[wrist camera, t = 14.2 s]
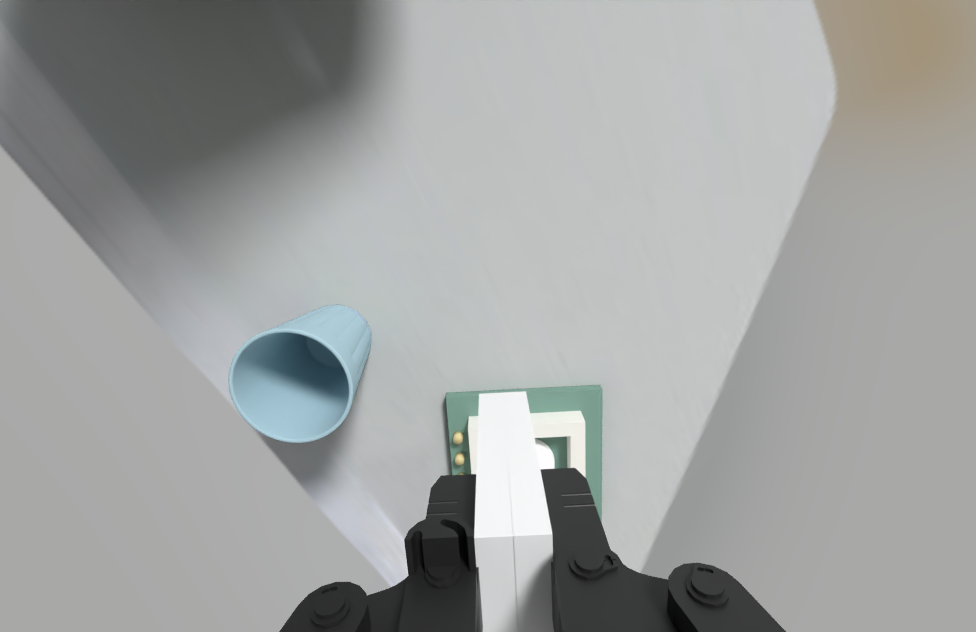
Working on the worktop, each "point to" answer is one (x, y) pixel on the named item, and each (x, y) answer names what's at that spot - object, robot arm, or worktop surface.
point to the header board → (539, 429)
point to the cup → (301, 374)
